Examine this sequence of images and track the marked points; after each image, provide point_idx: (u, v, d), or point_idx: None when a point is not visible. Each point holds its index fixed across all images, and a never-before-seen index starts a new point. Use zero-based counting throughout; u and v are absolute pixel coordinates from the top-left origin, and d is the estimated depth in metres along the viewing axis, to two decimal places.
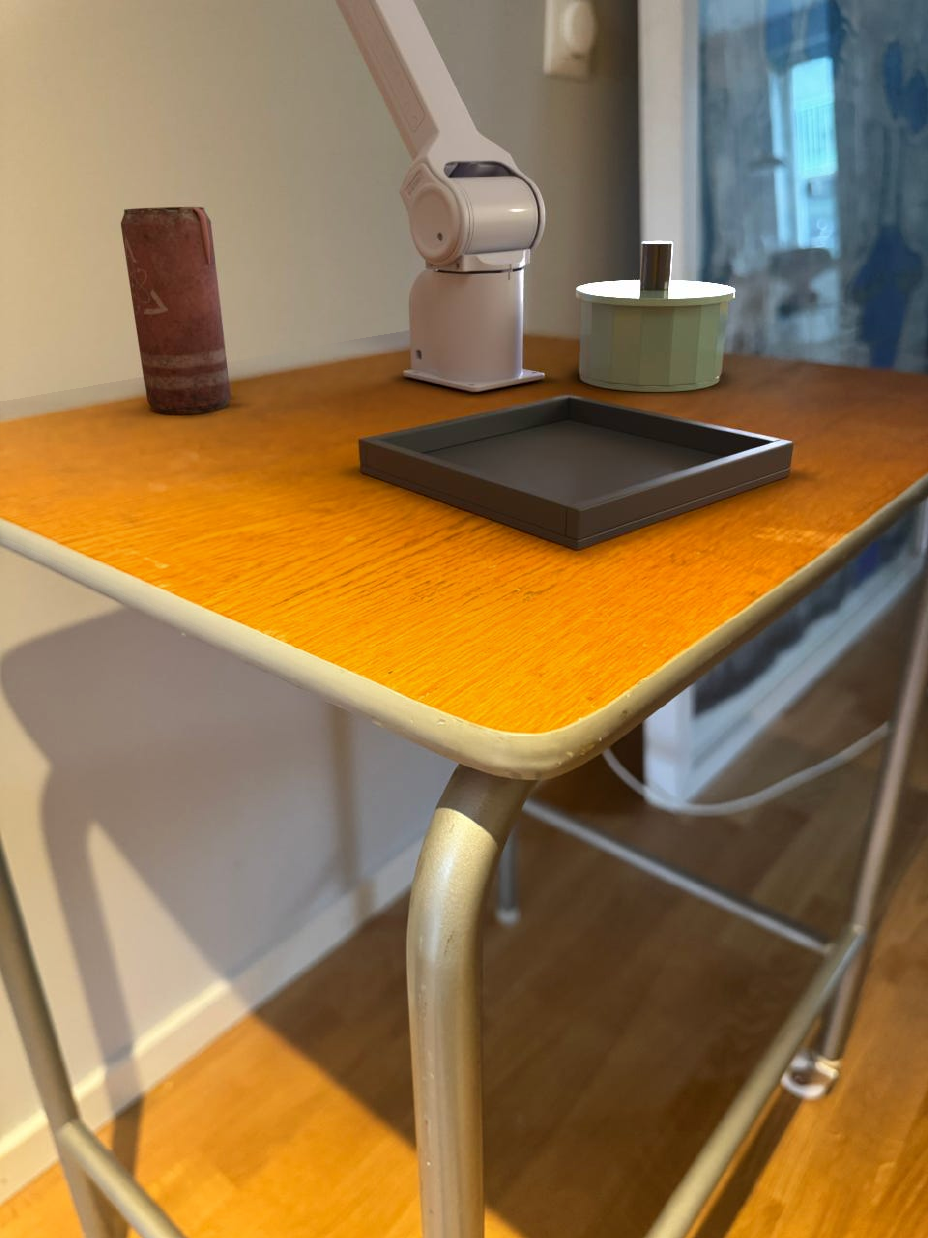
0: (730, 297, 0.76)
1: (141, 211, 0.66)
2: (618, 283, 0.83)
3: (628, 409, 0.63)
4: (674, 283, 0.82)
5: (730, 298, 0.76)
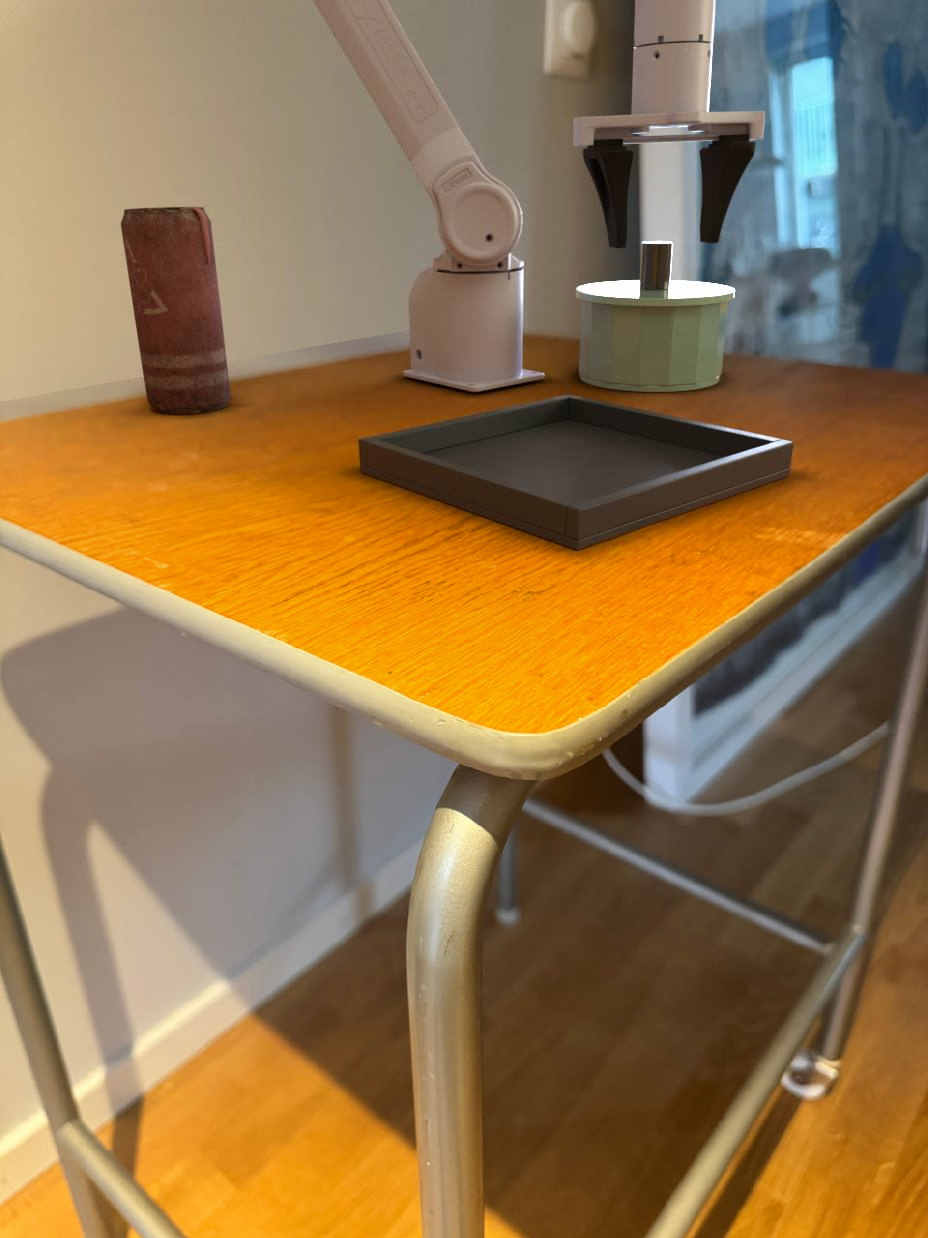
0: (730, 297, 0.76)
1: (141, 211, 0.66)
2: (618, 283, 0.83)
3: (628, 409, 0.63)
4: (674, 283, 0.82)
5: (730, 298, 0.76)
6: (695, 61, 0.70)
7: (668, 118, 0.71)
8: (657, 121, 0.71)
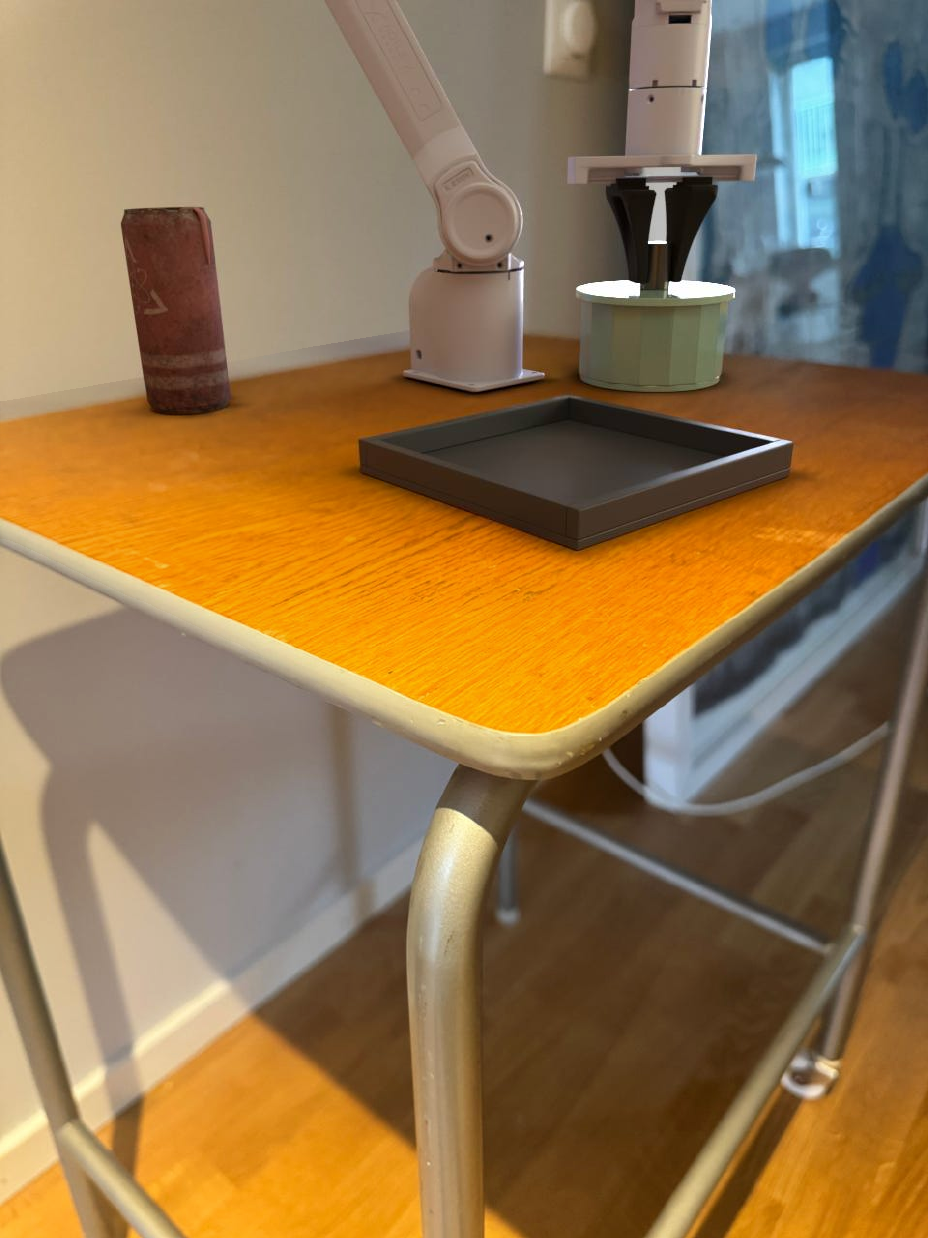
0: (730, 297, 0.76)
1: (141, 211, 0.66)
2: (618, 283, 0.83)
3: (628, 409, 0.63)
4: (674, 283, 0.82)
5: (730, 298, 0.76)
6: (688, 105, 0.71)
7: (661, 160, 0.72)
8: (650, 163, 0.72)
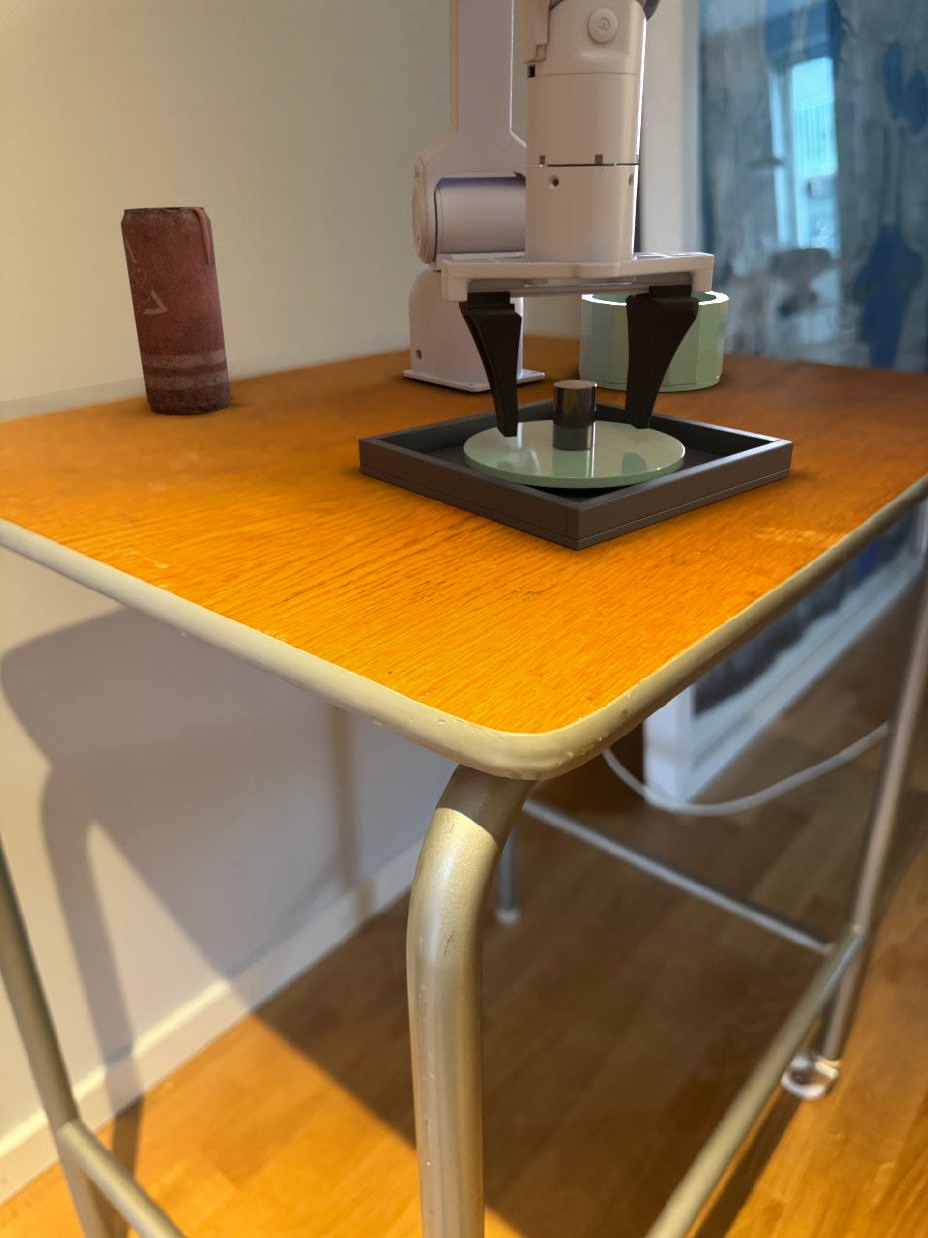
0: (677, 466, 0.53)
1: (141, 211, 0.66)
2: (528, 428, 0.60)
3: None
4: (605, 430, 0.59)
5: (677, 468, 0.53)
6: (610, 192, 0.48)
7: (571, 270, 0.49)
8: (556, 273, 0.50)
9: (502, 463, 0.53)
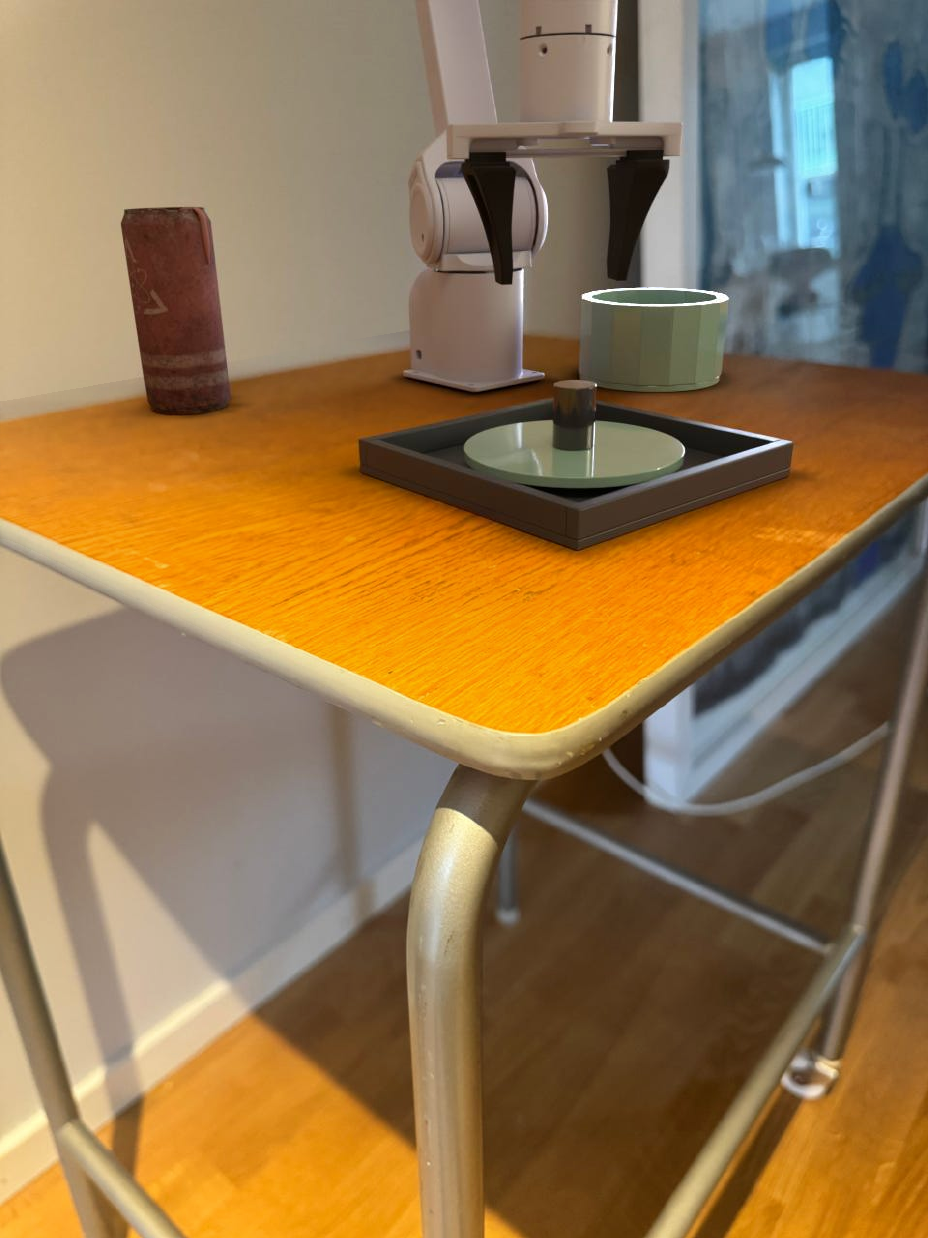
0: (677, 466, 0.53)
1: (141, 211, 0.66)
2: (528, 428, 0.60)
3: (628, 409, 0.63)
4: (605, 430, 0.59)
5: (677, 468, 0.53)
6: (591, 58, 0.56)
7: (558, 128, 0.57)
8: (545, 131, 0.58)
9: (502, 463, 0.53)
